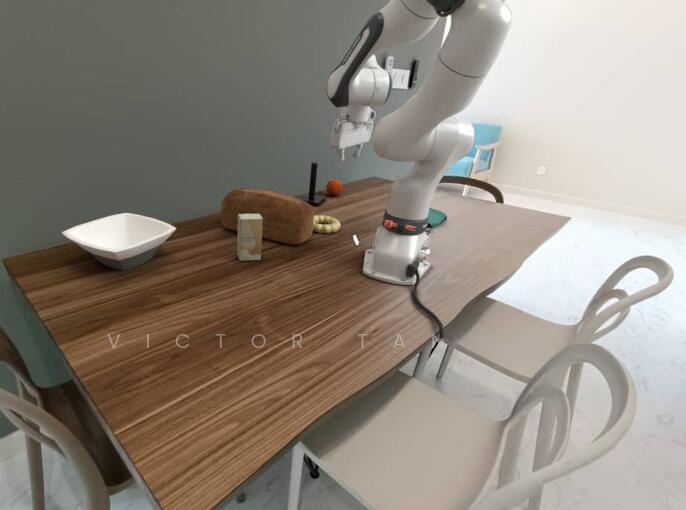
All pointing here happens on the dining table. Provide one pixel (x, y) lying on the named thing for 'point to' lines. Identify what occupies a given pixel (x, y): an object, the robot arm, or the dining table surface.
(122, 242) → the bowl
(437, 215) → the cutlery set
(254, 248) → the cosmetic box
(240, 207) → the bread
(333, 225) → the pale yellow segmented ring
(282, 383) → the dining table surface
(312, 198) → the peg stand
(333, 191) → the fruit
